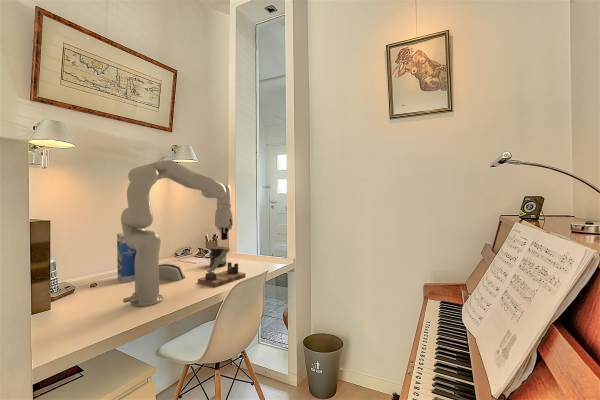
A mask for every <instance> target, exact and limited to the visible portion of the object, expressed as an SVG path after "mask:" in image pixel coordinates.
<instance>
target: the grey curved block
mask: <svg viewBox="0 0 600 400" xmlns="http://www.w3.org/2000/svg"><path fill="white" fill-rule="evenodd" d="M166 279H167V280H169V281H182V280H183V279H186V275H185V274H184V273H183V270H182V268H181V266H180V265H179V264H174V263H160V264H159V280H166Z"/></svg>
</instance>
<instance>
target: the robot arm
mask: <svg viewBox="0 0 600 400" xmlns="http://www.w3.org/2000/svg"><path fill="white" fill-rule="evenodd" d="M127 178H128V181H129V184H128V186H127V191H126V200H127V208H126V207H125V208H124V210H123V211H122V213H121V216H120V222H121V228H122V233H124V238H125V242H126V244H127V246H128V247H129V248H131V249H133V250H137V252H136V256H135V281H134V292H132V294H131V296H128V297H124V298H123V299H122V302H123V303H124V304H126V303H130V304H131V305H132V306H134V307H146V306H147V307H149V306H152V305H156V304H159V303H160V302H162V301H163V299H164V295H162V294H160V279H159V265H160V264H159V263H160V261H159V260H160V259H159V258H160V249H161V238H160V236H159V234H158V233H156V232H155V231H153V230H148V229H146V228H149V227H150V226H152V224H153V221H154V216H153V210H152V205H151V200H150V192H151V189H152V188H153V186H154V185H155V184H156V183H157V182H158V181H159V180H161V179H162V180H163V179H168V180H171V181H173V182H175V183H177V184H179V185H180V186H183V187H184V188H187V189H192V190H198V191H201V192H200V193H201V195H202V197H204V198H206V199H216V210H215V213H214V214H215V215H214V226H215V228H217V229H218V230H219V231H220V235H221V236H220V238H221V241H226V240H228V239H229V238H228V237H229V236H228V233H229V231H230V230H232V229H233V228H232V227H233V226H234V225H233V223H234V221H233V220H234V219H233V212H232V208H231V206H232V205H231V202H232V200H231V196H232V195H231V186H230V185H229V184H222V183H221V182H219V181H217V180H216V179H213V178H212V177H209V176H205V175H203V174H200V173H198V172H195V171H192V170H191V169H189V168H187V167H186V166H183V165H181V164H180V163H178V162H176V161H174V160H170V159H165V160H160V161H154V162H151V163H149V164H143V165H141V166H136V167H134V168H132V169H130V170H129V172H128V175H127Z"/></svg>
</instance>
